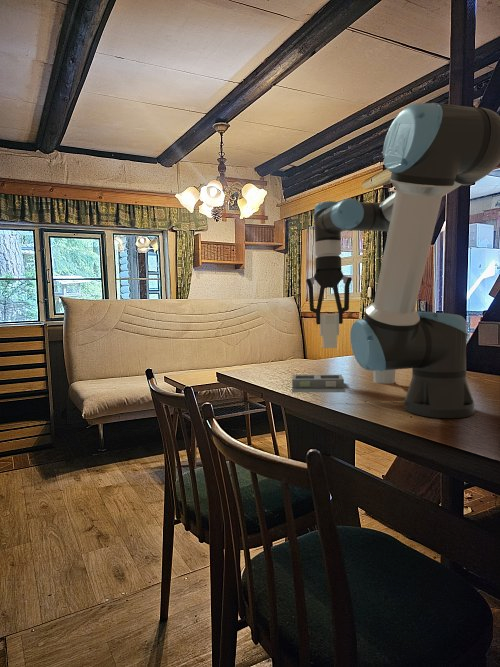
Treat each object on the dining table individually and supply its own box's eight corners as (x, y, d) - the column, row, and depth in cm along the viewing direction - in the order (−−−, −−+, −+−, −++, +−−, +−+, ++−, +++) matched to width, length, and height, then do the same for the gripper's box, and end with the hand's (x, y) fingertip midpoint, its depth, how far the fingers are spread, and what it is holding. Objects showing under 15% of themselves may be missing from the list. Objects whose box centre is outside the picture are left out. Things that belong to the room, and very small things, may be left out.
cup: (394, 382, 138) (394, 344, 137) (400, 387, 130) (400, 347, 129) (368, 382, 139) (368, 345, 138) (373, 387, 131) (372, 348, 130)
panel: (345, 395, 121) (345, 383, 121) (291, 395, 123) (291, 383, 123) (339, 382, 141) (339, 371, 141) (293, 382, 143) (293, 371, 143)
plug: (337, 348, 128) (336, 313, 127) (323, 348, 128) (322, 314, 127) (336, 346, 132) (335, 313, 131) (322, 346, 133) (322, 313, 132)
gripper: (356, 256, 131) (357, 333, 133) (299, 258, 133) (301, 334, 135) (359, 253, 124) (360, 335, 125) (299, 256, 126) (300, 336, 127)
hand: (329, 335), depth 130 cm, fingers closed on plug, 4 cm apart
